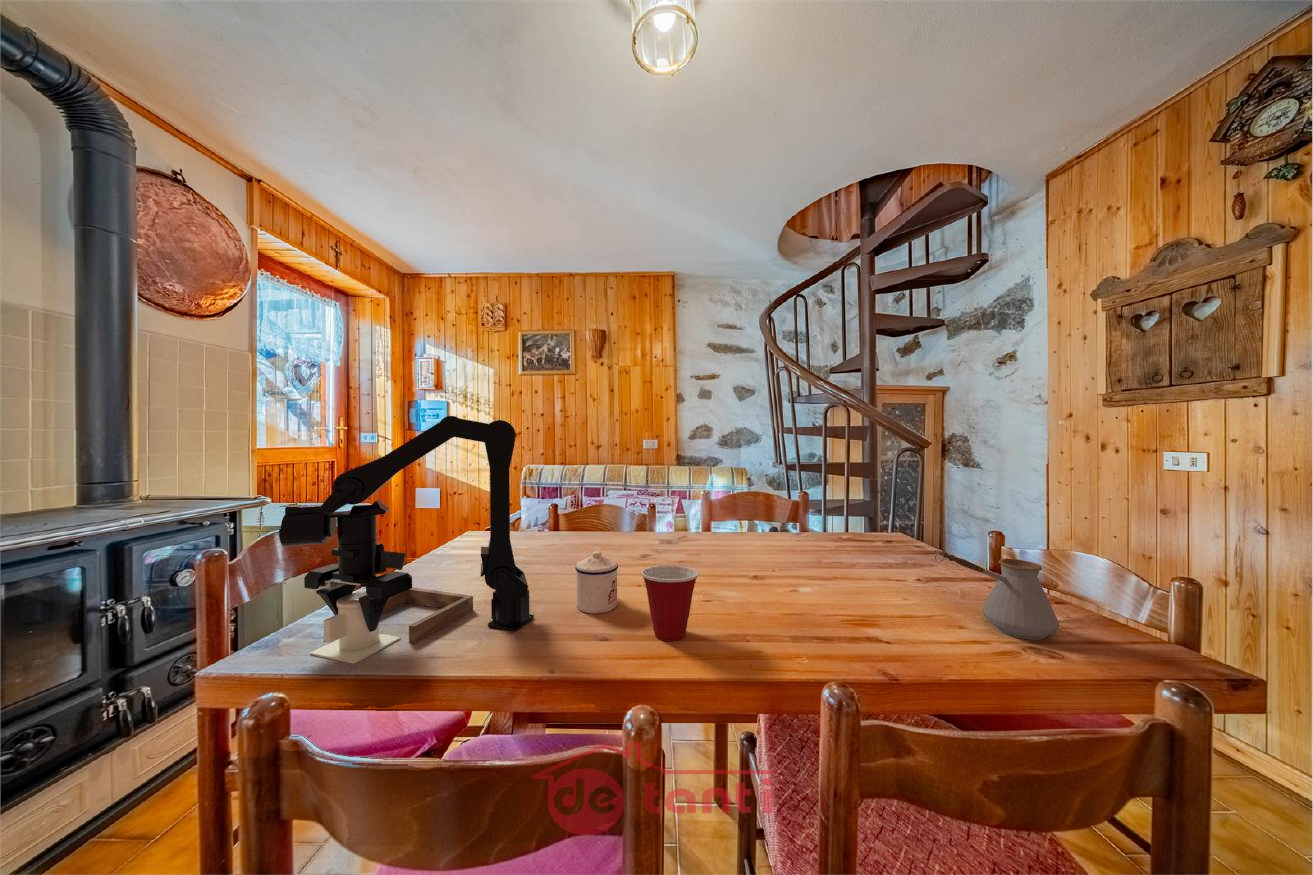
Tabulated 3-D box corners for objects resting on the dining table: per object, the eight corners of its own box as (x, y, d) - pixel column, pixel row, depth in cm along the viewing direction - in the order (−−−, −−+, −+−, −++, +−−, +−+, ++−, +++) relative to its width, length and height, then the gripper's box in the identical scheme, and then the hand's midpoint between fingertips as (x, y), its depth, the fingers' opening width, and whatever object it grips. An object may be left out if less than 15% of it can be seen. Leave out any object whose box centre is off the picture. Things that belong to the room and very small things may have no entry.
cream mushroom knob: (362, 632, 84) (361, 589, 84) (389, 637, 82) (388, 593, 82) (313, 655, 75) (312, 608, 75) (342, 661, 74) (340, 613, 73)
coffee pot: (1024, 618, 92) (1026, 544, 91) (1076, 645, 80) (1079, 561, 80) (918, 617, 92) (919, 543, 91) (955, 644, 80) (956, 561, 80)
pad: (400, 638, 82) (400, 637, 82) (353, 663, 74) (353, 662, 74) (359, 631, 85) (358, 629, 85) (309, 654, 77) (309, 652, 77)
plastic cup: (697, 621, 90) (697, 561, 89) (700, 648, 79) (701, 580, 79) (642, 620, 90) (642, 560, 90) (638, 647, 79) (638, 579, 79)
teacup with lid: (617, 614, 93) (617, 558, 93) (573, 615, 92) (573, 558, 92) (618, 592, 105) (618, 542, 105) (579, 593, 104) (578, 543, 104)
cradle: (473, 609, 95) (473, 595, 95) (414, 643, 81) (414, 626, 80) (408, 600, 100) (407, 586, 100) (341, 629, 86) (341, 614, 86)
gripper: (435, 533, 84) (437, 616, 85) (360, 527, 90) (361, 604, 90) (383, 549, 74) (385, 644, 74) (301, 540, 79) (303, 628, 80)
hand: (359, 628), depth 80 cm, fingers closed on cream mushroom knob, 6 cm apart
